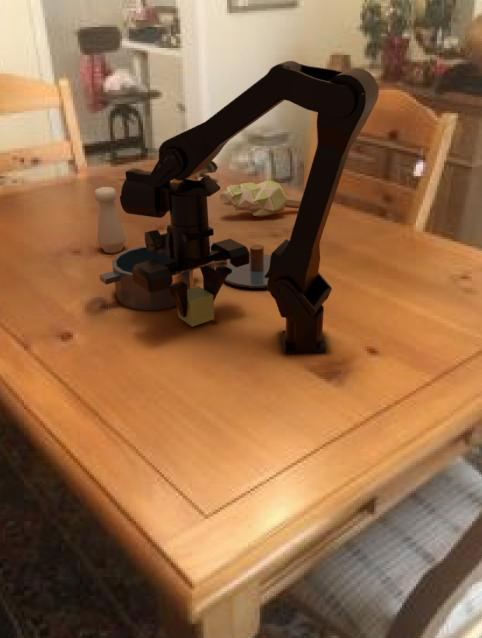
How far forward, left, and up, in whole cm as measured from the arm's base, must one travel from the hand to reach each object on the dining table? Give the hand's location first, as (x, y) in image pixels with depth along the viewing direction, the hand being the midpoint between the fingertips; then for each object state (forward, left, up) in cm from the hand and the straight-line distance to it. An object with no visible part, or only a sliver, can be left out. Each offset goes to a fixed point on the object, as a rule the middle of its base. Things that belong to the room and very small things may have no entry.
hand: (196, 312), depth 103 cm
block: (0, 0, -1) cm, 1 cm away
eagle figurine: (+82, +2, -2) cm, 82 cm away
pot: (+12, +8, -2) cm, 15 cm away
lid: (+19, -11, -1) cm, 22 cm away
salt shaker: (+34, +19, -2) cm, 39 cm away
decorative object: (+54, -16, -2) cm, 56 cm away
